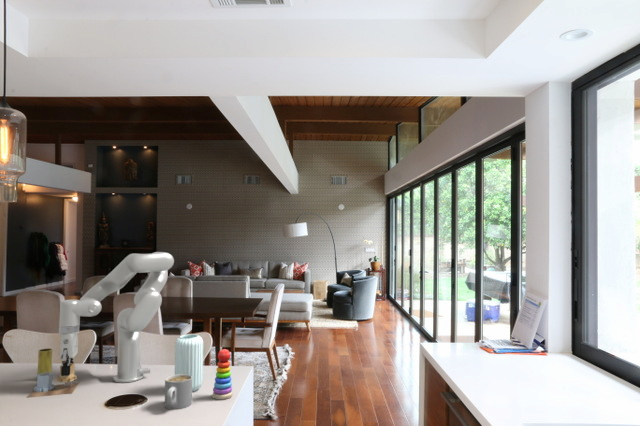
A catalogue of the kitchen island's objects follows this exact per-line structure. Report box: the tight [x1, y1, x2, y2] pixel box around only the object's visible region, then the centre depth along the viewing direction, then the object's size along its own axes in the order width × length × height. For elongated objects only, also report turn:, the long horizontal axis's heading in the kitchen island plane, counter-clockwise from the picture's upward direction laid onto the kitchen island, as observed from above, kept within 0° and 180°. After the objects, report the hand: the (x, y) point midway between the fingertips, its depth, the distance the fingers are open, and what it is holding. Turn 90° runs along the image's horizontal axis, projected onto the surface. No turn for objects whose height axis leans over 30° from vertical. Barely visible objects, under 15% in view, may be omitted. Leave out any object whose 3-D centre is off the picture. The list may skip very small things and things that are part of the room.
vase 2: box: [174, 333, 204, 393], centre depth 189 cm, size 12×12×22 cm
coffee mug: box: [164, 374, 193, 411], centre depth 170 cm, size 13×10×10 cm
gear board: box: [26, 374, 80, 399], centre depth 184 cm, size 16×14×8 cm
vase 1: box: [37, 348, 53, 375], centre depth 198 cm, size 6×6×14 cm
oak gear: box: [56, 363, 78, 383], centre depth 187 cm, size 7×7×6 cm
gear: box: [33, 372, 56, 392], centre depth 184 cm, size 7×7×6 cm
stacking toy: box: [211, 348, 234, 400], centre depth 180 cm, size 8×8×19 cm
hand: (67, 373), depth 187 cm, fingers closed on oak gear, 5 cm apart
